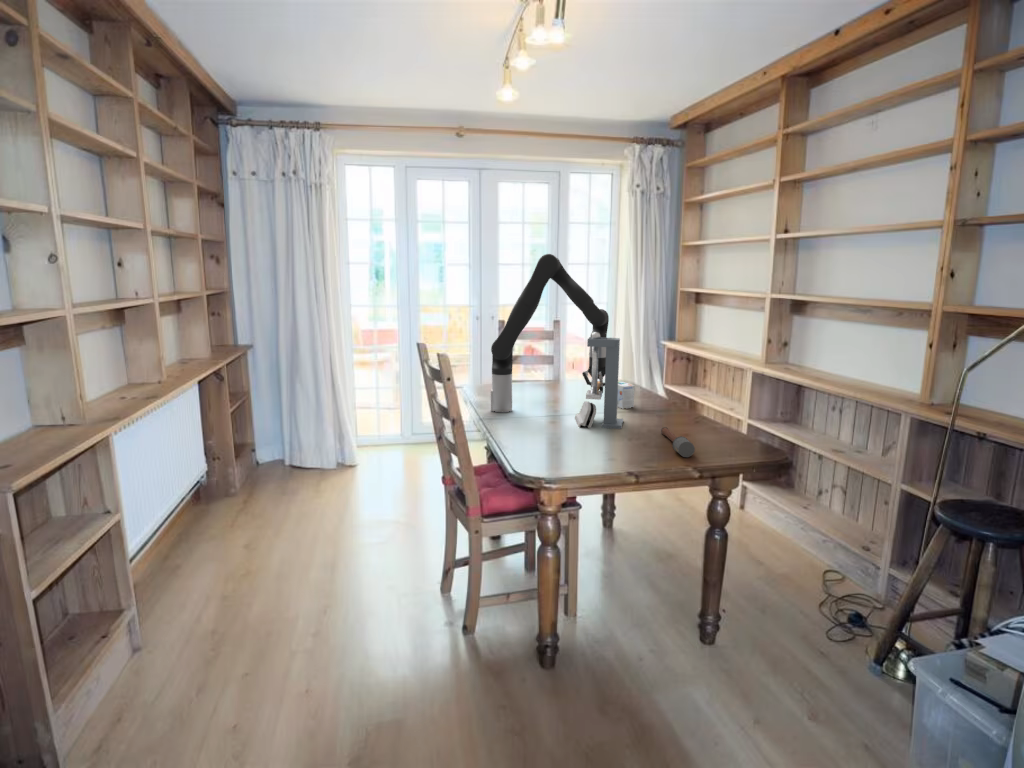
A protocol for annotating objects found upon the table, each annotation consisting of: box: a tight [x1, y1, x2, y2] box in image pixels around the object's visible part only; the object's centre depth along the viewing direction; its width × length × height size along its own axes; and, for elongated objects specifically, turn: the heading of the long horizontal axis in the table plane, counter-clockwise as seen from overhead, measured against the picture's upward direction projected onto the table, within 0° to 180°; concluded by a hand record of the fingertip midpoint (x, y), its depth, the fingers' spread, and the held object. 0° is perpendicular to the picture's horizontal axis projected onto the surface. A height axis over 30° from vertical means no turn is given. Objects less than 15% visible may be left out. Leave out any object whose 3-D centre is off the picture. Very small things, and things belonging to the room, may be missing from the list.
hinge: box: [574, 400, 597, 429], centre depth 246 cm, size 17×5×10 cm, turn 0°
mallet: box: [660, 426, 696, 458], centre depth 215 cm, size 6×6×30 cm
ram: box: [585, 332, 603, 401], centre depth 246 cm, size 6×20×27 cm, turn 167°
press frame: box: [587, 336, 624, 430], centre depth 241 cm, size 15×12×36 cm
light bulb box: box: [617, 381, 636, 410], centre depth 276 cm, size 11×7×11 cm, turn 25°
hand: (596, 394), depth 257 cm, fingers closed on ram, 2 cm apart
